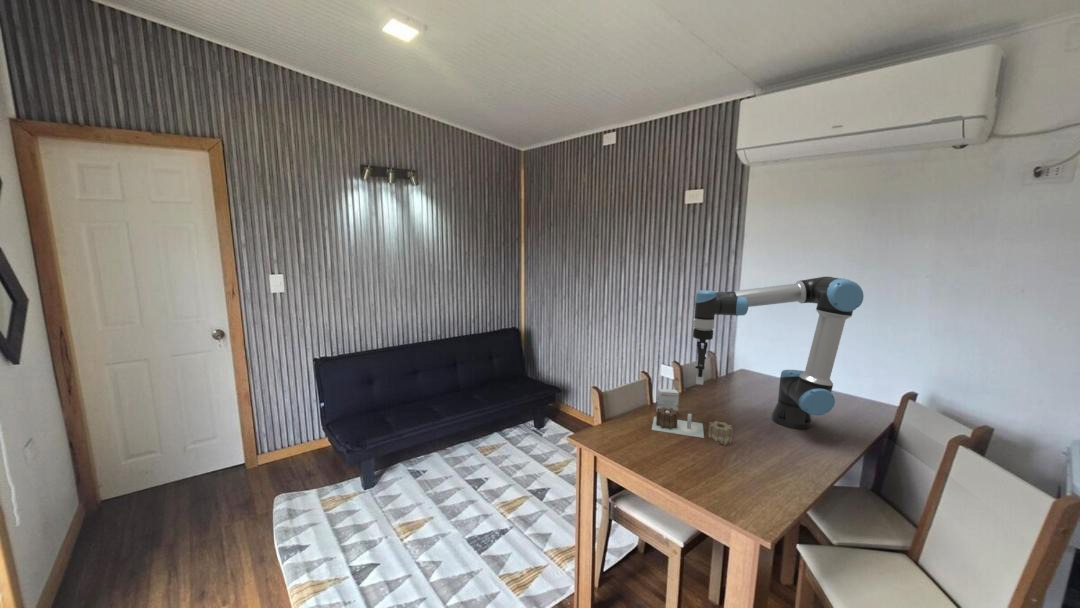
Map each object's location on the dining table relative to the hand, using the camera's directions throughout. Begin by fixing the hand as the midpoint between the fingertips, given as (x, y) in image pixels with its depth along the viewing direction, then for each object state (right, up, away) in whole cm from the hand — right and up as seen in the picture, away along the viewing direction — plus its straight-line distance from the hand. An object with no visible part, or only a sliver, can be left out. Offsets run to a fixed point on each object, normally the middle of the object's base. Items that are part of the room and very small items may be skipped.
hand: (699, 379), depth 174 cm
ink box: (-9, -19, +15) cm, 26 cm away
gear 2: (+5, -23, -7) cm, 24 cm away
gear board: (-9, -21, +2) cm, 23 cm away
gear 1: (-13, -20, +3) cm, 24 cm away
